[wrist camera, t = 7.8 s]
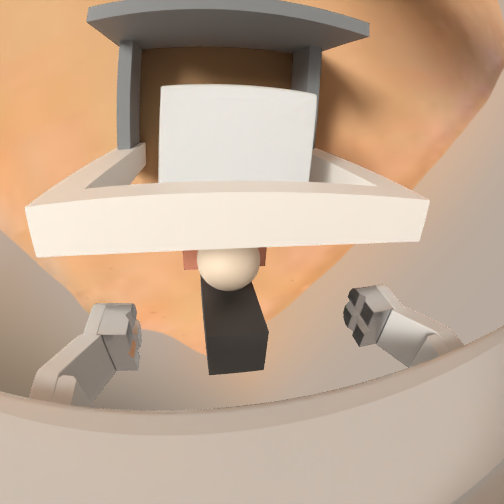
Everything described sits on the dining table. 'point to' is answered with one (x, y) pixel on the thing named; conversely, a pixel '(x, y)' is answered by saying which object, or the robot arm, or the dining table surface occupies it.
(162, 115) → the supplement box
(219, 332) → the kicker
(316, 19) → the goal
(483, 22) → the dining table surface
